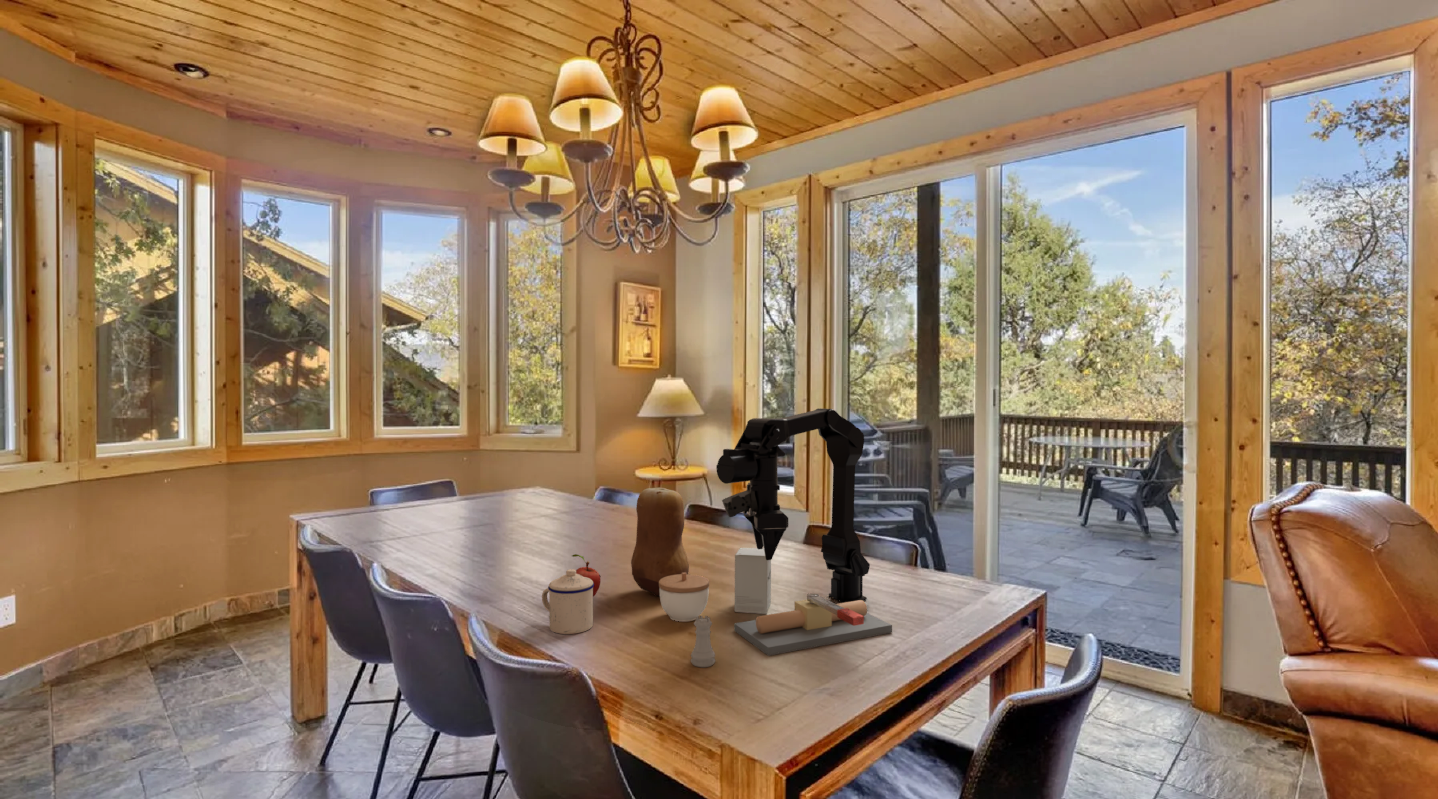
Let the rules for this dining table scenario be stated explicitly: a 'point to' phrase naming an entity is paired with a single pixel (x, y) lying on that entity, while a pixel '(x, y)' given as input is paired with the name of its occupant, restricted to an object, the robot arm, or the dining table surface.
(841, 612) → the valve lever
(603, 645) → the dining table surface
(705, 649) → the rook chess piece
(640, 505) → the butternut squash
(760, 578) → the supplement box
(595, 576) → the apple
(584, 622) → the teacup with lid
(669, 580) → the lidded jar
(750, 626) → the valve body
